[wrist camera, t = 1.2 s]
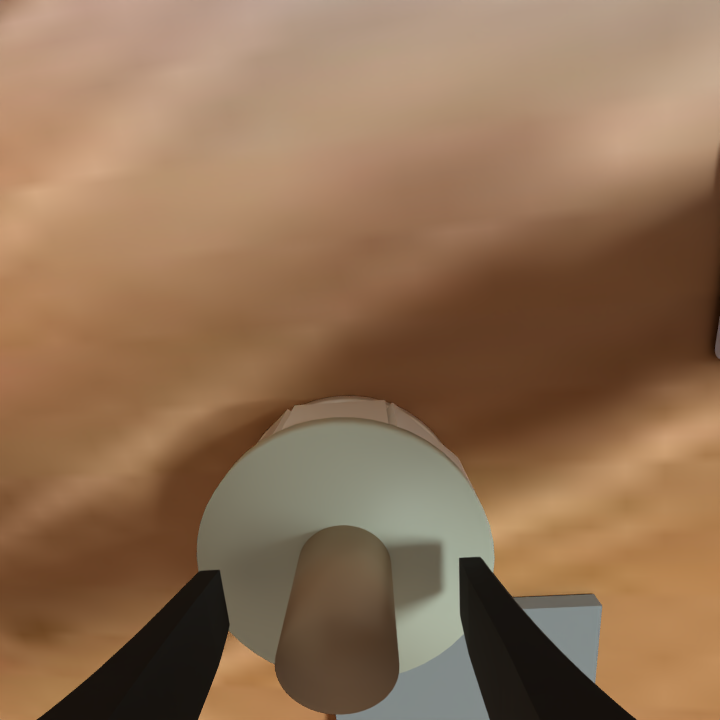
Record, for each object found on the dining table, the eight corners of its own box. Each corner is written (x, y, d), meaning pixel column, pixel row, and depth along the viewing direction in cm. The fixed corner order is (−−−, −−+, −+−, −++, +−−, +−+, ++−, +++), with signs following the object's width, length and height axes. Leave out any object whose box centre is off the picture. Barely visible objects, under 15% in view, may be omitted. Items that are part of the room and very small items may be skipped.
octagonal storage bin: (455, 388, 15) (477, 417, 12) (458, 581, 17) (477, 647, 14) (228, 402, 15) (195, 434, 12) (258, 590, 17) (235, 656, 14)
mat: (593, 594, 17) (602, 605, 16) (580, 758, 19) (586, 773, 18) (326, 605, 17) (324, 617, 16) (343, 764, 19) (343, 780, 19)
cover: (487, 408, 12) (548, 476, 8) (486, 653, 14) (532, 802, 10) (184, 426, 12) (96, 500, 8) (229, 663, 14) (177, 812, 10)
